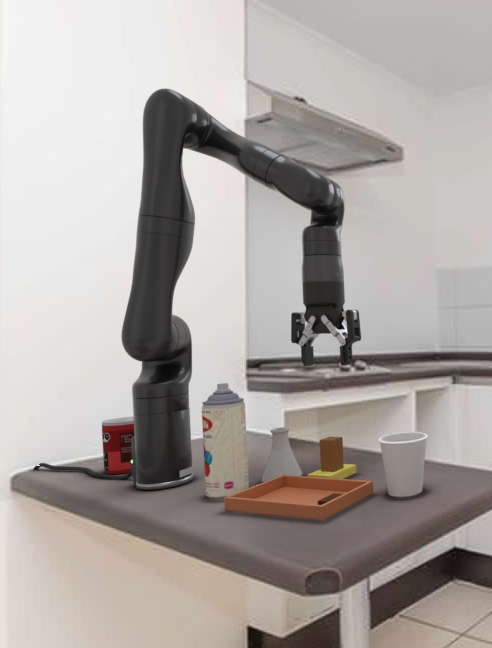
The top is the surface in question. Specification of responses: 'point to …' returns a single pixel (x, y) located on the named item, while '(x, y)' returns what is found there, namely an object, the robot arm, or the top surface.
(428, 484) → the top surface
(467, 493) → the top surface
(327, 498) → the block
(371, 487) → the orange tray
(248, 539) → the top surface
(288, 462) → the flask
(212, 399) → the aerosol can
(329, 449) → the brush
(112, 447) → the canned food
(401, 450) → the dixie cup
